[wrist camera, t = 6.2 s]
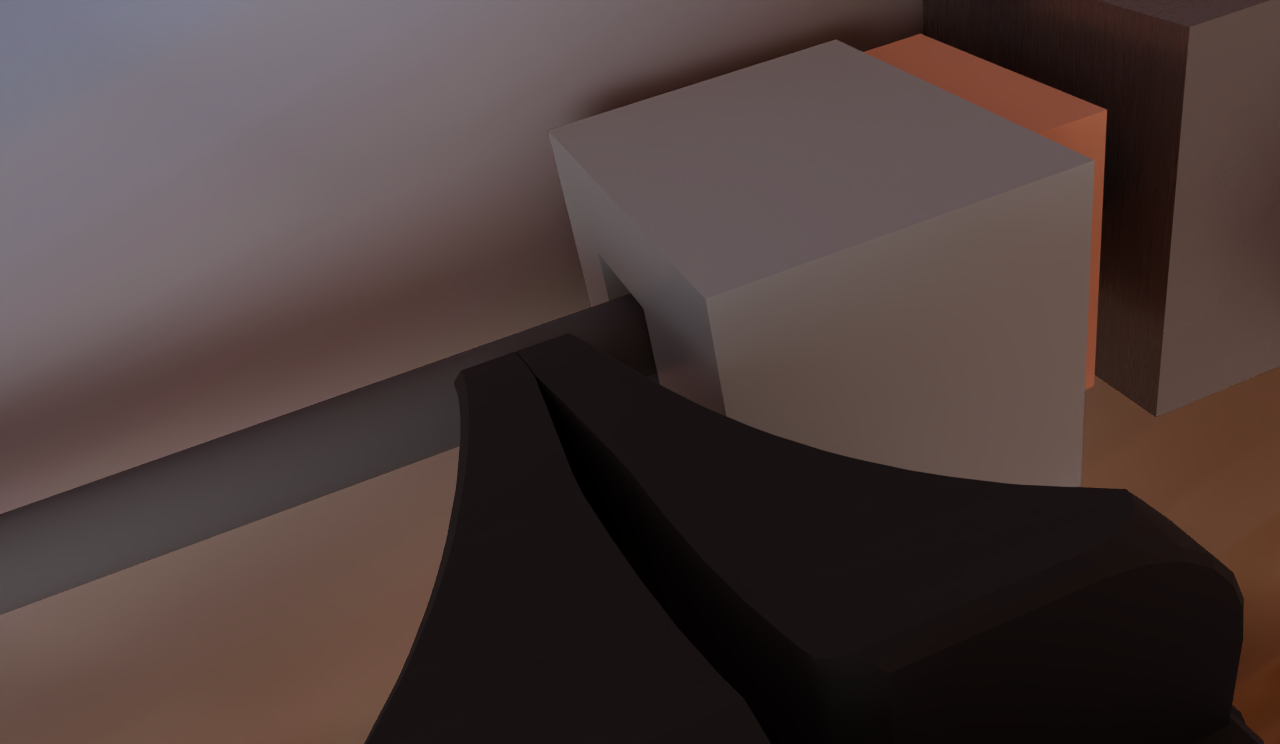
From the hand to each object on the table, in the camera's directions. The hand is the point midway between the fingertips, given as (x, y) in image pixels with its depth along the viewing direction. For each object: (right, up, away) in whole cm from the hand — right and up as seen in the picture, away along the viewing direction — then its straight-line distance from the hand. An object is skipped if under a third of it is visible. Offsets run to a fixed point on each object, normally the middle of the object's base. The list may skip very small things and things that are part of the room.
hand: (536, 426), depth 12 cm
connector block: (+7, +5, +5) cm, 10 cm away
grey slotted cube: (+2, +3, +4) cm, 5 cm away
